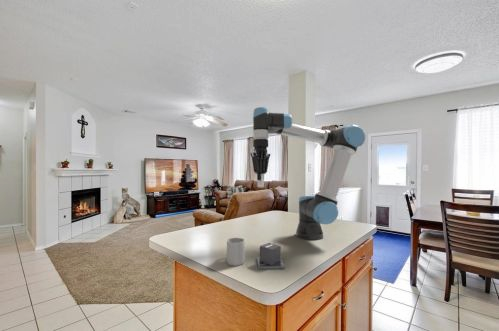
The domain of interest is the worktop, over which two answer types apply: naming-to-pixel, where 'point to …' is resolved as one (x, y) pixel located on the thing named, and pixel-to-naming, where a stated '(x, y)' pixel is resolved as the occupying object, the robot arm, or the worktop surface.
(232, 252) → the cup
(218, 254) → the worktop surface
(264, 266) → the base plate
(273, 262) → the dark grey cube
